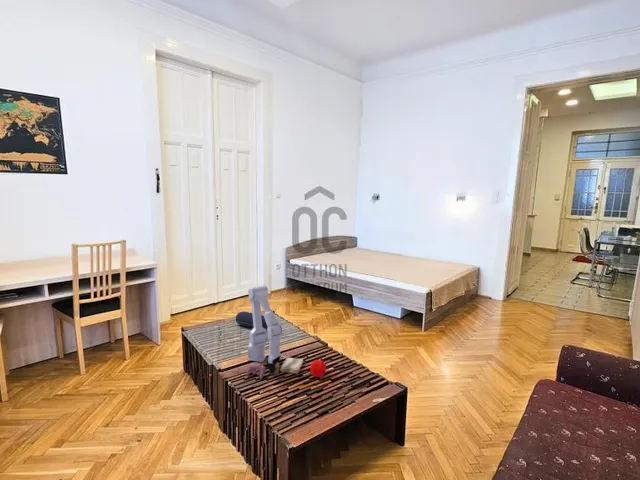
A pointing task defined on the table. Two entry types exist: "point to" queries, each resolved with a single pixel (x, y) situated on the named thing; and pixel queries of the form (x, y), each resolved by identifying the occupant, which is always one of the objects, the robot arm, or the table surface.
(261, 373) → the video game controller
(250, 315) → the portable speaker
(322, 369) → the ball
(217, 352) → the table surface
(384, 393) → the table surface
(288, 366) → the shallow cream tray
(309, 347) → the table surface
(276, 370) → the walnut block
